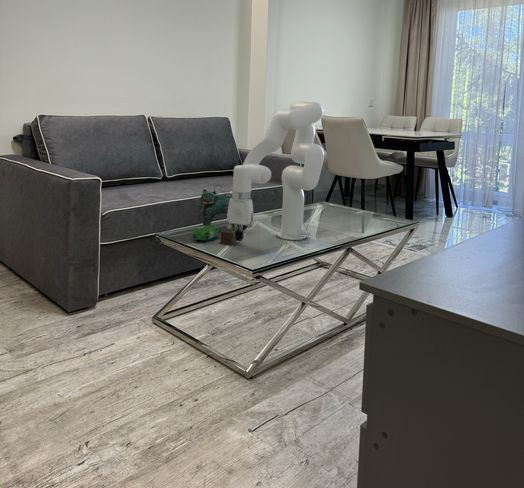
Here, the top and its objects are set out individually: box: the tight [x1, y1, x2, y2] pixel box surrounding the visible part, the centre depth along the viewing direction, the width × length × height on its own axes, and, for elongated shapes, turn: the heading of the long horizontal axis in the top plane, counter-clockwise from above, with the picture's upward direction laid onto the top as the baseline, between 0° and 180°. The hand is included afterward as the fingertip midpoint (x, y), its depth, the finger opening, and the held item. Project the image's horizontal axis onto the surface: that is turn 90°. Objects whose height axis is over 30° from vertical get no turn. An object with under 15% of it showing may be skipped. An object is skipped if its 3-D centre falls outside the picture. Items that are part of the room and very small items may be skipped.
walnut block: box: [220, 228, 238, 246], centre depth 205 cm, size 5×5×5 cm
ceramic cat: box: [200, 184, 241, 226], centre depth 231 cm, size 20×6×20 cm, turn 99°
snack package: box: [192, 224, 220, 242], centre depth 209 cm, size 7×16×5 cm, turn 160°
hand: (239, 240), depth 203 cm, fingers closed
